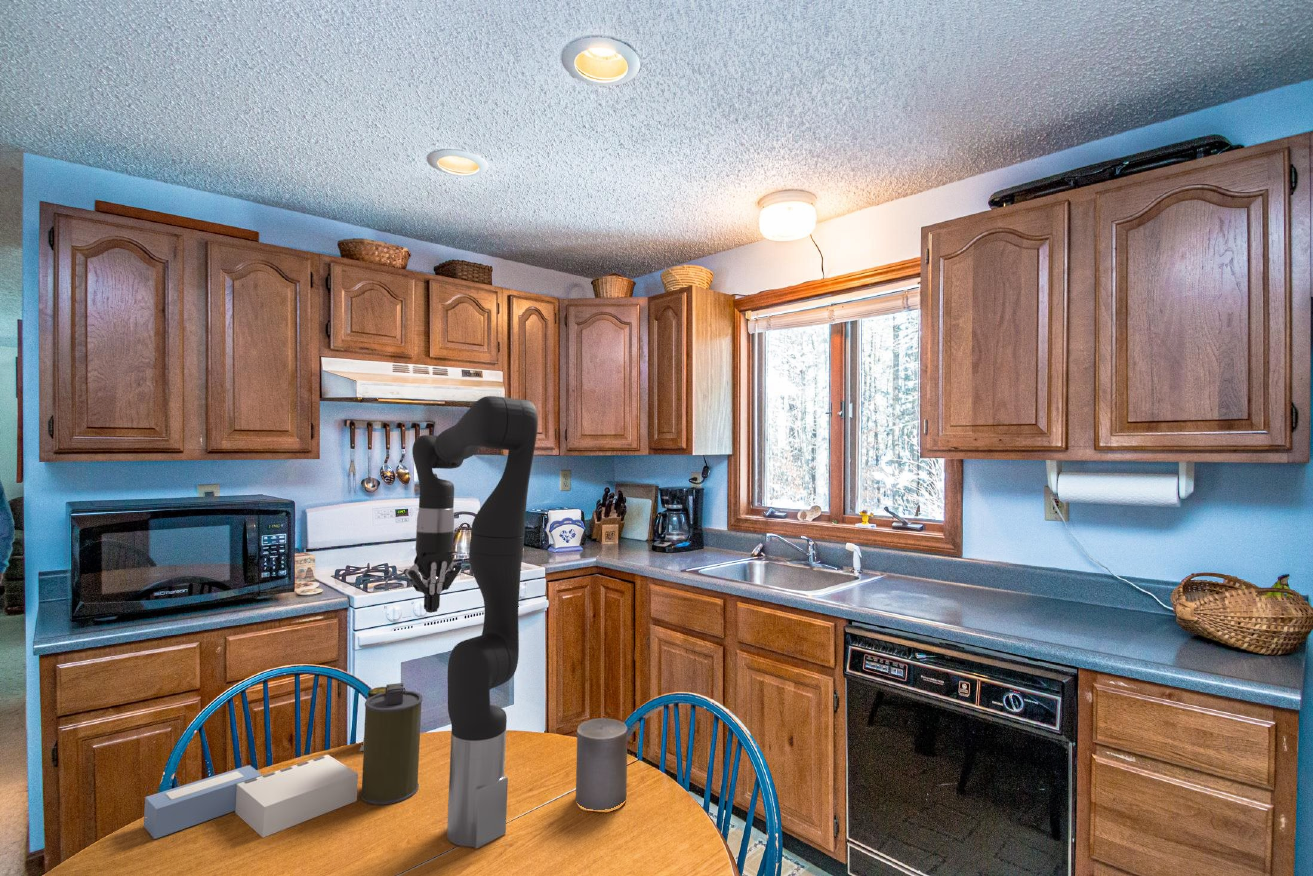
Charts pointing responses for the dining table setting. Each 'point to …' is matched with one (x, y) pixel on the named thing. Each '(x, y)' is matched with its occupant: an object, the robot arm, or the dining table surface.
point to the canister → (391, 746)
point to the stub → (194, 802)
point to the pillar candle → (601, 764)
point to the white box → (295, 794)
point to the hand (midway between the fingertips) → (431, 611)
